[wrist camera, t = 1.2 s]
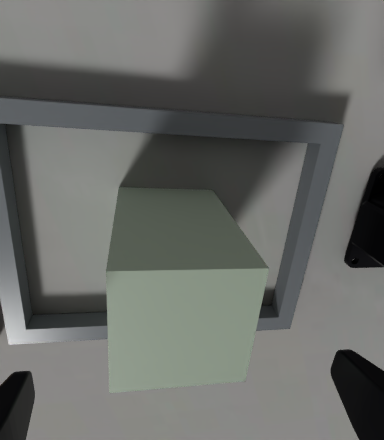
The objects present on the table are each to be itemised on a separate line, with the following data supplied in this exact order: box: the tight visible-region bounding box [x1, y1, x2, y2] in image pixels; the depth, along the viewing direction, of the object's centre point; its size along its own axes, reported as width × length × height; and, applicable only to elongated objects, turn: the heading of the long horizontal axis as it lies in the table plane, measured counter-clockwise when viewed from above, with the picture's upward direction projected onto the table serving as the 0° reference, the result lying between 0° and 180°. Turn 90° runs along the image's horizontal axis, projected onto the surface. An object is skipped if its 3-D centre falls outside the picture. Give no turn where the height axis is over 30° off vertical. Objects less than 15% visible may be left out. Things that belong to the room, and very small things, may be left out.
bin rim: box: [0, 96, 344, 345], centre depth 17 cm, size 17×13×1 cm
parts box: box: [106, 187, 269, 393], centre depth 14 cm, size 5×5×8 cm
